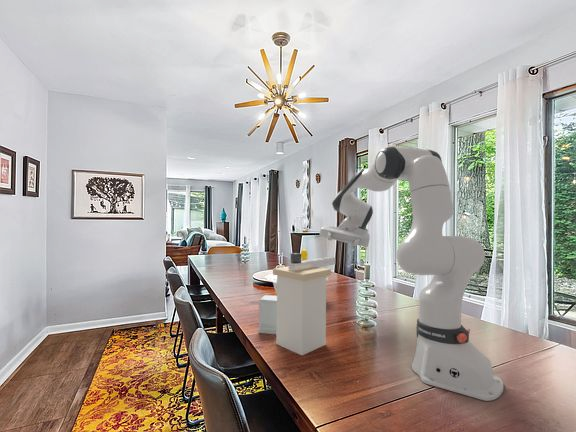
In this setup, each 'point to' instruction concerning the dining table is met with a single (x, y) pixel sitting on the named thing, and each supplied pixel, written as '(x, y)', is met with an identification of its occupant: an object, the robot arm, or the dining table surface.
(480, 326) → the dining table surface
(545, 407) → the dining table surface
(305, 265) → the aluminium bar
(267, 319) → the supplement box
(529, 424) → the dining table surface
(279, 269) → the pedestal
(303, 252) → the figure statuette
